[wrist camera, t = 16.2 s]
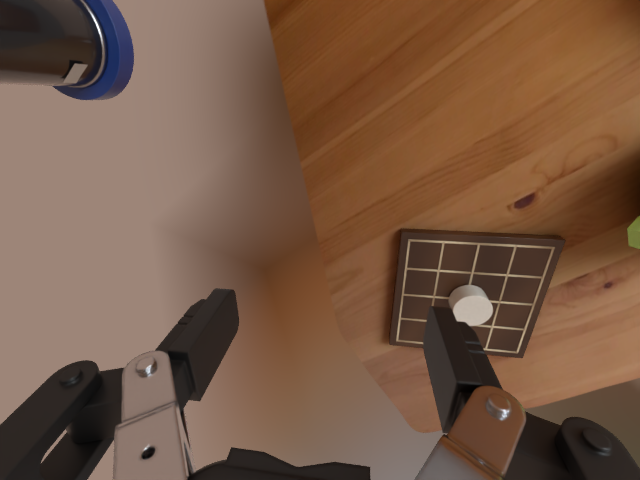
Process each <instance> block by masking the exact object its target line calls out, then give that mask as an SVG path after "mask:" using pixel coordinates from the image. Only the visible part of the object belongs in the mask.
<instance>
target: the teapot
mask: <svg viewBox="0 0 640 480" xmlns="http://www.w3.org/2000/svg"><path fill="white" fill-rule="evenodd" d="M627 232H628V242H629V246H631V247H634V248H637V249H640V215H639V216H638V217H637V218H636V219H635V221H634V222H633V223H632V224H631V225H630V226H629V227H628V228H627Z"/></svg>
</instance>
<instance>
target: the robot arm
mask: <svg viewBox="0 0 640 480" xmlns="http://www.w3.org/2000/svg"><path fill="white" fill-rule="evenodd" d="M107 63H108V44H107V39H106V35H105V32H104V29H103V26H102V24H101V22H100V20H99V18H98V16H97V15H96V13H95V11H94V10H93V8H92V7H91V6H90V5H89V3H88V2H87V1H86V0H0V84H23V85H49V86H69V87H76V88H85V87H89V86H92V85H94V84H96V83H97V82H98V81H99V80H100V79H101V78H102V76H103V74H104V73H105V70H106V67H107ZM238 326H239V316H238V309H237V302H236V295H235V291H234V290H230V289H218V288H216V289H214V290H213V292H212V293H211V294H210V295H209V297H208V298H207V299H206V300H205V299H201V300H200V301H198V302H197V303H195V304H194V305H192V306H191V307H190V308H189V309H188V311H187V312H186V313H185V314H184V317H182V318H181V319H180V320H179V322H178V324H176V325H175V327H174V328H173V329H172V330H171V331H170V333H169V334H168V335H167V336H166V337H165V339H164V340H163V341H162V342H161V344H160V345H159V346H158V348H157V349H156V350H155V351H149V352H146V353H143V354H141V355H139V356H137V357H135V358H134V359H133V360H131V361H130V362H129V363H128V364H127V365H126V367H125V368H119V369H112V370H106V371H99V368H98V366H97V364H96V363H95V362H93V361H87V360H86V361H79V362H75V363H72V364H69V365H67V366H65V367H63V368H61V369H60V370H58V371H57V372H55V373H54V374H53V375H52V376H51V377H50V378H48V379H47V380H46V381H45V383H43V384H42V385H41V386H40V387H39V388H38V389H37V390H36V391H35V392H34V393H33V394H32V395H31V396H30V397H29V398H28V399H27V400H26V401H25V402H24V403H23V404H21V405H20V407H18V408H17V409H16V410H15V411H14V412H13V413H12V414H11V415H10V416H9V417H8V418H7V419H6V420H5V421H4V422H3V423H2V424H1V425H0V480H87V479H88V477H89V476H90V475H91V473H92V472H93V470H94V469H95V467H96V466H97V464H98V463H99V461H100V460H101V458H102V457H103V455H104V454H105V452H106V451H107V449H108V448H109V446H110V444H111V443H112V441H113V440H114V465H113V480H370V467H367V466H360V465H352V464H345V463H338V462H331V463H324V464H317V465H310V466H303V467H295V466H293V465H291V464H289V463H286V462H284V461H282V460H280V459H278V458H276V457H274V456H271V455H269V454H267V453H265V452H259V451H253V450H246V449H238V448H231V449H230V452H229V455H228V457H227V460H222V461H218V462H215V463H212V464H209V465H207V466H205V467H203V468H201V469H199V470H197V471H196V467H195V464H194V459H193V454H192V448H191V443H190V437H189V432H188V427H187V421H186V416H185V411H184V407H185V405H186V403H187V402H188V400H193V401H200V400H201V398H202V396H203V395H204V393H205V391H206V389H207V387H208V385H209V383H210V382H211V380H212V378H213V376H214V374H215V372H216V370H217V368H218V367H219V365H220V363H221V361H222V359H223V357H224V355H225V353H226V351H227V350H228V348H229V346H230V344H231V342H232V340H233V338H234V337H235V335H236V333H237V330H238ZM423 348H424V354H425V359H426V363H427V367H428V371H429V376H430V380H431V384H432V388H433V393H434V397H435V401H436V405H437V410H438V414H439V418H440V422H441V427H442V431H443V433H448V434H447V435H445V434H444V435H443V436H442V437H441V438H440V440H439V441H438V443H437V444H436V446H435V448H434V449H433V451H432V453H431V454H430V456H429V457H428V459H427V461H426V462H425V464H424V465H423V467H422V468H421V470H420V472H419V473H418V475H417V476H416V478H415V480H640V468H639V467H638V465H637V464H636V462H635V461H634V459H633V458H632V457H631V455H630V454H629V452H628V451H627V449H626V448H625V447H624V445H623V444H622V443H621V442H620V440H618V438H616V437H615V436H614V435H613V434H612V433H610V432H609V431H608V430H607V429H605V428H603V427H602V426H600V425H599V424H597V423H595V422H593V421H590V420H587V419H584V418H580V417H570V418H567V419H565V420H564V421H563V423H562V425H558V424H555V423H552V422H550V421H547V420H544V419H542V418H539V417H536V416H534V415H532V414H529V413H528V412H526V411H524V408H523V407H522V405H521V404H520V403H519V402H518V400H517V399H516V398H514V397H513V396H512V395H511V394H509V393H508V392H506V391H504V390H503V389H502V387H501V385H500V383H499V381H498V378H497V376H496V374H495V372H494V370H493V368H492V366H491V364H490V362H489V359H488V357H487V355H486V354H485V351H484V349H483V347H482V345H481V343H480V340H479V338H478V336H477V334H476V332H475V331H474V330H473V329H472V328H471V327H470V326H469V325H468V324H467V323H466V322H460V321H457V320H456V318H455V315H454V313H453V311H452V309H451V308H450V307H439V306H430V308H429V311H428V316H427V321H426V326H425V332H424V337H423ZM65 429H66V431H67V433H66V434H65V435H64V437H63V438H62V439H61V440H60V441H59V443H58V444H57V445H56V446H55V447H54V449H53V450H52V451H51V452H50V453H49V455H48V456H47V457H46V458H45V460H44V461H43V462H42V463H41V460H42V458H43V456H44V455H45V453H46V452H47V450H48V449H49V448H50V447H51V446H52V444H53V443H54V442H55V441H56V440H57V438H58V437H59V436H60V435H61V434H62V432H63V431H64V430H65Z"/></svg>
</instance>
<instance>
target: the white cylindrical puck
mask: <svg viewBox="0 0 640 480" xmlns="http://www.w3.org/2000/svg"><path fill="white" fill-rule="evenodd" d="M448 301H449V306H450V308H451V309H452V311H453V313H454V315H455V318H456V320H457V321H460V322H466V323H467V324H468V325H469V326H476V325H480V324H482V323H484V322H486V321H487V320H488V319H489V318H490V317H491V315H492V313H493V306H492V304H491V302H490V300H489V299H488V297H487V295H486V293H485V292H484V291H483V290H482V289H481V288H479V287H477V286H474V285H464V286H460V287H458V288H456V289H455V290H454V291H453V292H452V293H451V294H450V296H449V300H448Z"/></svg>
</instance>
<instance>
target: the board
mask: <svg viewBox="0 0 640 480" xmlns="http://www.w3.org/2000/svg"><path fill="white" fill-rule="evenodd" d="M564 243H565V240H564V239H563V238H562V237H560V236H549V235H528V234H507V233H485V232H464V231H443V230H422V229H401V233H400V242H399V252H398V261H397V270H396V279H395V289H394V298H393V307H392V317H391V326H390V335H389V344H390V345H397V346H407V347H417V348H423V337H424V332H425V326H426V321H427V316H428V311H429V308H430V306H439V307H450V306H449V301H448V300H449V296H450V294H451V293H452V292H453V291H454V290H455V289H456V288H458V287H460V286H464V285H474V286H477V287H479V288H481V289H482V290H483V291H484V292H485V293H486V295H487V297H488V299H489V300H490V302H491V304H492V306H493V313H492V315H491V317H490V318H489V319H488V320H487V321H486V322H484V323H482V324H480V325H476V326H470V327H471V328H472V329H473V330H474V331H475V332H476V334H477V336H478V338H479V340H480V343H481V345H482V347H483V349H484V351H485V354H486V355H495V356H505V357H515V358H523V356H524V353H525V350H526V348H527V345H528V342H529V339H530V337H531V334H532V331H533V328H534V326H535V323H536V320H537V317H538V315H539V312H540V309H541V306H542V303H543V301H544V298H545V295H546V292H547V290H548V287H549V284H550V281H551V279H552V276H553V273H554V270H555V268H556V265H557V262H558V259H559V257H560V254H561V251H562V248H563V245H564Z"/></svg>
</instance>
